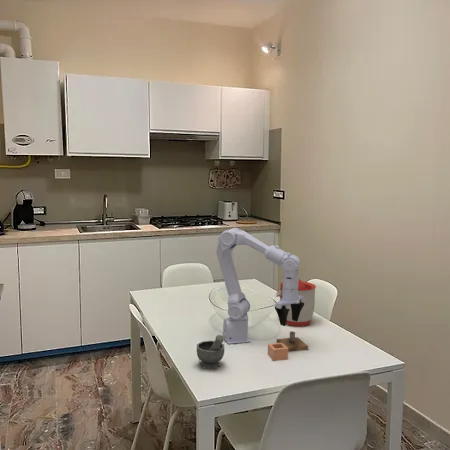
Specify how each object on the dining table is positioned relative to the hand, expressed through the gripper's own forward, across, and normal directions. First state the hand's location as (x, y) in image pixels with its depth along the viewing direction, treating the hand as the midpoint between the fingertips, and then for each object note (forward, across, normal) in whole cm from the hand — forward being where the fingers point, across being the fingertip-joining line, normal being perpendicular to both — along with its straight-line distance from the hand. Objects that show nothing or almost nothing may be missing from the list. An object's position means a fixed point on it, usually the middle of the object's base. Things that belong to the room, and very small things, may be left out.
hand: (289, 322), depth 173 cm
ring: (+10, -10, -2) cm, 14 cm away
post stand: (+10, +2, 0) cm, 10 cm away
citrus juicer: (+10, +25, +15) cm, 31 cm away
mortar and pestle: (+10, -32, +9) cm, 35 cm away
